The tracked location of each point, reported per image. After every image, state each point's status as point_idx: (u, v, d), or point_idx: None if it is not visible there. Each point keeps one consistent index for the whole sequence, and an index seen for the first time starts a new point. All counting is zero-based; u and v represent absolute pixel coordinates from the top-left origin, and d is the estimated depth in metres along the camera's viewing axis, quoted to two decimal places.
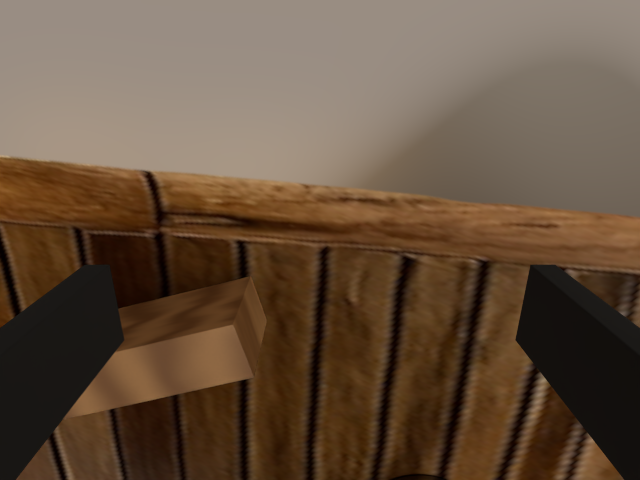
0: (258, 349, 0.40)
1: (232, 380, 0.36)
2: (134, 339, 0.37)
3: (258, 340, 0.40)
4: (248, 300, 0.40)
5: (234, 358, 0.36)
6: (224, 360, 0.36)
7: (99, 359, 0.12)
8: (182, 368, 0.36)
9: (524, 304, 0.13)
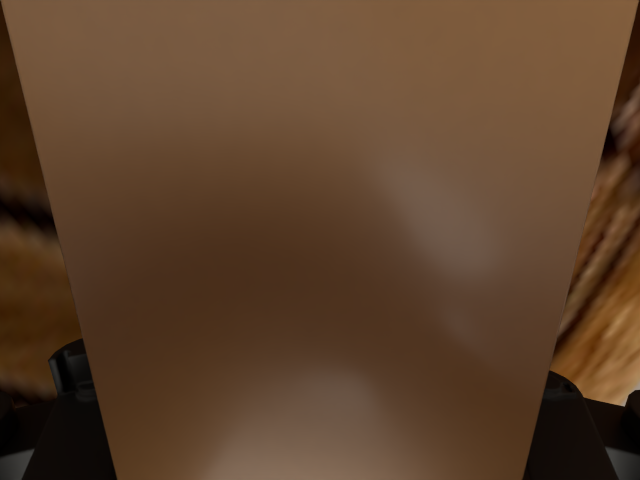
0: None
1: None
2: None
3: None
4: None
5: None
6: None
7: None
8: (294, 397, 0.05)
9: None
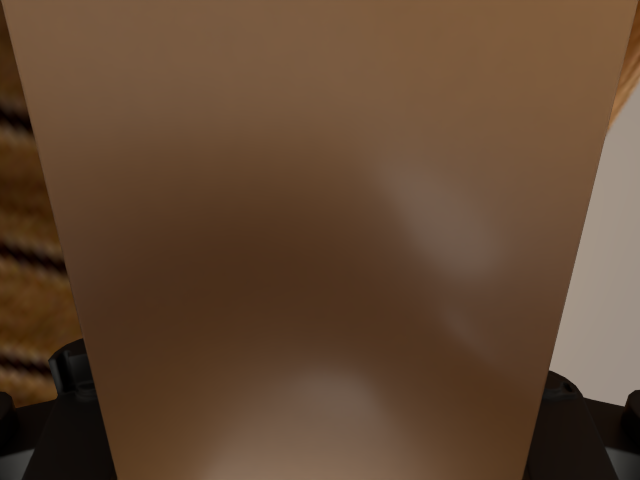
0: None
1: None
2: None
3: None
4: None
5: None
6: None
7: None
8: (294, 397, 0.05)
9: None
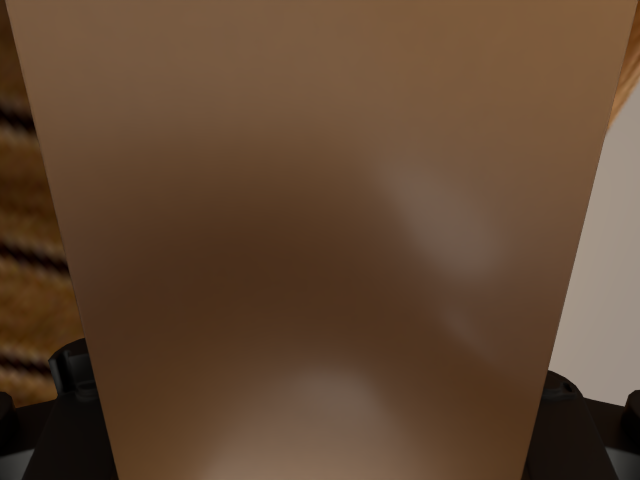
0: None
1: None
2: None
3: None
4: None
5: None
6: None
7: None
8: (295, 396, 0.05)
9: None
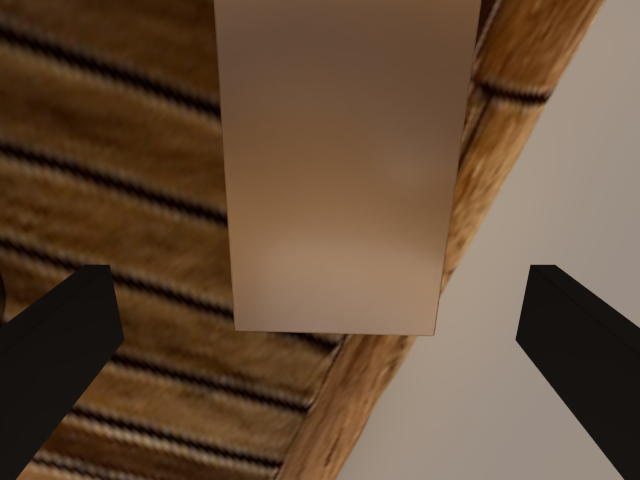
0: None
1: (237, 268, 0.11)
2: None
3: None
4: None
5: (319, 301, 0.11)
6: (319, 271, 0.11)
7: (98, 359, 0.12)
8: (328, 121, 0.09)
9: (524, 304, 0.13)
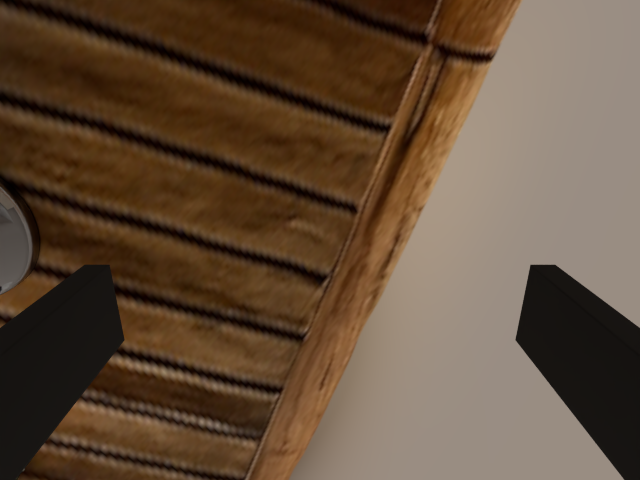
0: None
1: None
2: None
3: None
4: None
5: None
6: None
7: (98, 359, 0.12)
8: None
9: (524, 304, 0.13)
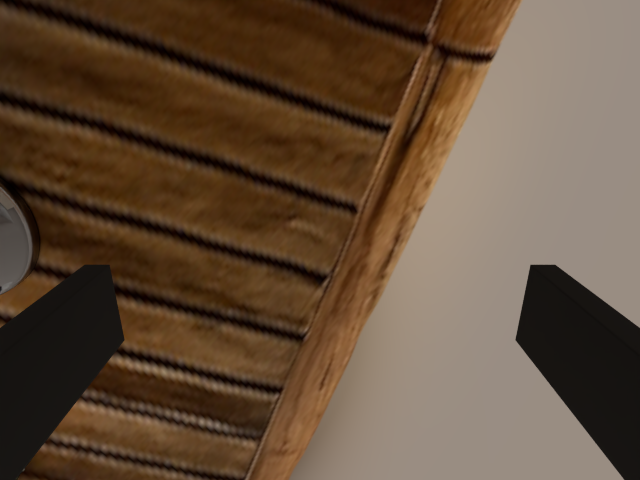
0: None
1: None
2: None
3: None
4: None
5: None
6: None
7: (98, 359, 0.12)
8: None
9: (524, 304, 0.13)
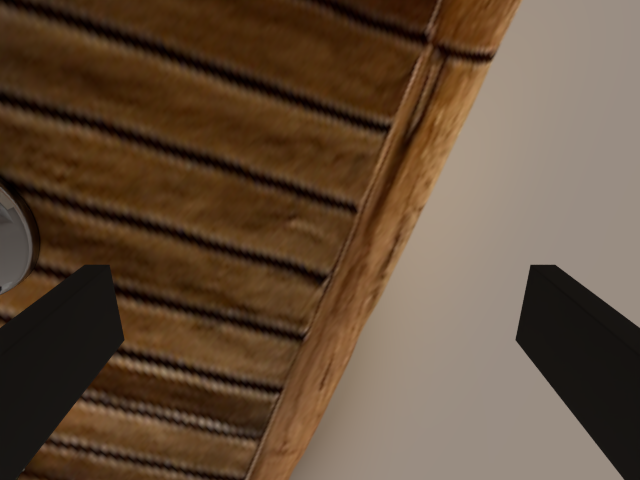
0: None
1: None
2: None
3: None
4: None
5: None
6: None
7: (98, 359, 0.12)
8: None
9: (524, 304, 0.13)
